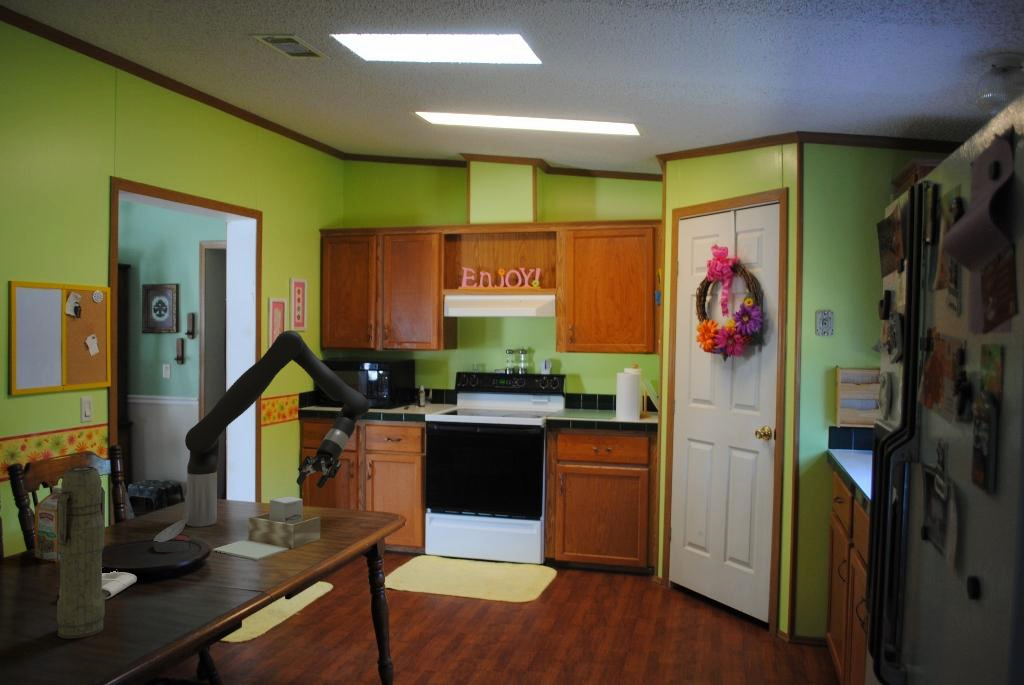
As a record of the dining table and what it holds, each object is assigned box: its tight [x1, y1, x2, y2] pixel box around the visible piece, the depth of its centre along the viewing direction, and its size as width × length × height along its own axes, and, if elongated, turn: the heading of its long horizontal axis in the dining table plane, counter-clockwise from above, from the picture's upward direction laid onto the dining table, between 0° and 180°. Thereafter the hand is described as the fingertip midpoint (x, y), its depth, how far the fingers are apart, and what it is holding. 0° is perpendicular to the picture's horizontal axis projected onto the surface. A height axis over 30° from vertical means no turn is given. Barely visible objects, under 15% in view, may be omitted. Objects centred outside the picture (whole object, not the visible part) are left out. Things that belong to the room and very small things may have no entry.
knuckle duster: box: [102, 571, 138, 600], centre depth 190 cm, size 3×18×15 cm
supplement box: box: [269, 496, 304, 524], centre depth 238 cm, size 7×7×13 cm
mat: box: [212, 539, 289, 561], centre depth 226 cm, size 18×12×1 cm, turn 62°
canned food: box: [152, 518, 191, 542], centre depth 227 cm, size 11×10×10 cm
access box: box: [248, 511, 321, 550], centre depth 237 cm, size 18×12×7 cm, turn 62°
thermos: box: [56, 465, 106, 640], centre depth 164 cm, size 9×12×35 cm
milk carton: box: [34, 486, 61, 563], centre depth 219 cm, size 11×10×19 cm
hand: (308, 485), depth 246 cm, fingers open, 8 cm apart
